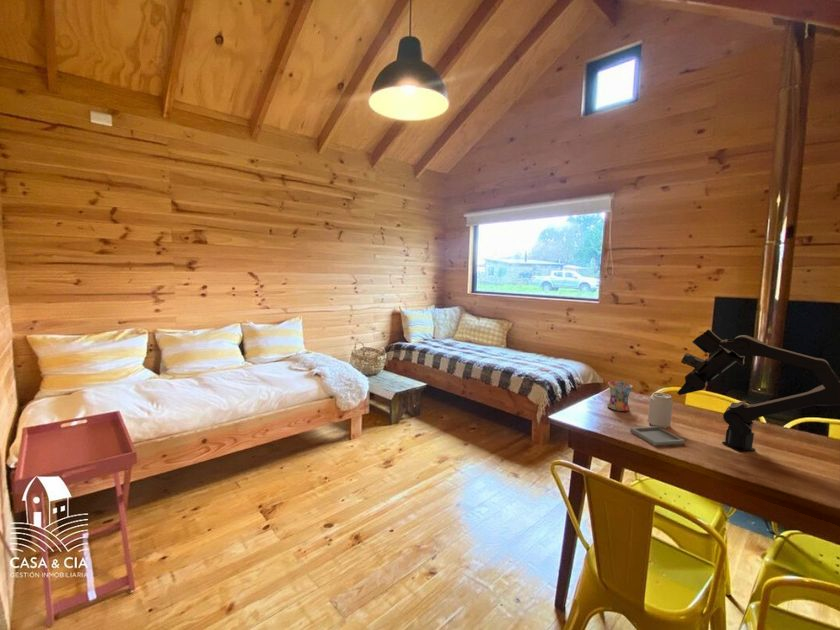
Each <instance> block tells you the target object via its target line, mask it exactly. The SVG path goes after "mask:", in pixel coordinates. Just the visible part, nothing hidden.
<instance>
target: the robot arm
mask: <svg viewBox="0 0 840 630" xmlns="http://www.w3.org/2000/svg"><path fill="white" fill-rule="evenodd" d="M691 343H692V344H694V346H695V347H697V348H698V349H699V350H700V351H702V352H703V353H704V354H711V356H710V357H708V358H706V359H705V360H704V359H702V358H700V357H698V356H695V355H693V354H692V353H685V354H684V356H683V357H682V359H681V360H680V363H681V364H683V365H687V366H689V367H692V368H693V369H692V370H691V371H690V372H689V373H687V374H686V375H685V376H684V383H683V385H682V386H681V387H680V388H679V389H678V391H677V394H678V396H682V395H687V394H690V393H695V392H700V391H702V390H704V389H705V388H706V387H708V383H710V382H711V381H713V380H714V379H715V378H716V377H718V376H719V375H722V374H723V372H725V371H726V370H727V369H729V368H730V367H731V366H733V365H734V364H735V363H737V364H739V365H741V366H744V364H745V358H746V357H745V356H749V357H751V356H752V357H761V358H767V359H770V360H774V361H777V362H780V363H784V364H788V365H791V366H795V367H798V368H801V369H805V370H809V371H811V372H813V373H814V374H815V375H816V377H817V378H818V380H819V381H820V383H821V385H818V386H816V387H815V388H812V389H810V390H808V391H806V392H801V393H798V394H793V395H789V396H785V397H779V398H776V399H772V400H766V401H764V402H758V403H754V404H753V403H751V404H750V403H747V402H746V400H742V401H739V402H734V403H733V402H731V404H730V405H729V406H728V407H727V408H726V409H725V410H724V412H723V416H722V418H723V421H724V422H725V423H726V424H727V425H728V426H727V429H726V432H725V439H724V440H725V441H722V442H721V444H723V445H725V446H727V447H729V448H732V449H733V450H736V451H737V452H754V451H756V448H754V447H753V443H754V437H755V433H754V432H752V431H753V428H754V425H755V423H754V421H756V420H757V419H759V418H762V417H768V416H773V415H777V414H781V413H786V412H791V411H795V410H800V409H805V408H809V407H814V406H816V407H817V406H827V407H828V406H840V378H839V376H838V375H837V374H836V372H835V371H834V370H833V368H832V367H831V366H830V364H829V362H828V361H827V360H826V359H825V358H819V357H814V356H810V355H806V354H802V353H800V352H799V353H798V352H796V351H791V350H787V349H784V348H780V347H777V346H773V345H769V344H768V343H765V342H763V341H761V340H760V339H757V338H755V337H752V336H751V335H746V334H742V335H738V336H736V337H735V338H730V339H727V338H725V339H721V338H720V337H719V336H717V335H716V334H715V333H714V332H713V331H712V330H711V329H706V331H705V332H703V333H701V334H700V335H698V336H697V337H696V338H695V339H693V341H692V342H691ZM718 349H719V350H718ZM717 350H718V351H717ZM715 351H717V352H715ZM714 352H715V353H714ZM713 353H714V354H713ZM712 354H713V355H712ZM741 355H742V356H741Z"/></svg>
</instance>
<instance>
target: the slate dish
mask: <svg viewBox="0 0 840 630" xmlns="http://www.w3.org/2000/svg"><path fill="white" fill-rule="evenodd" d="M630 433H631V434H633V435H635V436H637V437H638V438H640V439H642V440H644V441H645V442H646V443H649V444H650V445H651V446H654V447H655V448H657V447H669V446H683V445H685V443H686V439H684V438H682V437H679V436H678V435H676V434H674V433H673V432H670V431H668V430H666V429H665V428H661V427H659V426H641V427H630Z"/></svg>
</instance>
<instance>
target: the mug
mask: <svg viewBox="0 0 840 630" xmlns="http://www.w3.org/2000/svg"><path fill="white" fill-rule="evenodd" d="M607 384H608V387H609V393H610V394H609V395H610V396H609V400H608V402H607V404H606V405H607V407H608V408H610V409H612V410H614V411H617V412H627V411H629V410H630V406H629V396H630V393H631V391H632V389H633V387H634V386H633V385H632V384H630V383H627V382H624V381H616V380H613V381H612V380H611V381H608V382H607Z"/></svg>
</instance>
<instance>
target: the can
mask: <svg viewBox="0 0 840 630" xmlns="http://www.w3.org/2000/svg"><path fill="white" fill-rule="evenodd" d="M673 406H674V400H673V398H672V396H671V394H668V393H663V392H653V393H652V395H650V397H649V403H648V413H647V422H648V423H649V424H650V425H651V427H653V426H659V427H661V428H663V429H667V428H669V427H670V426H671V423H672V414H673Z"/></svg>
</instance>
